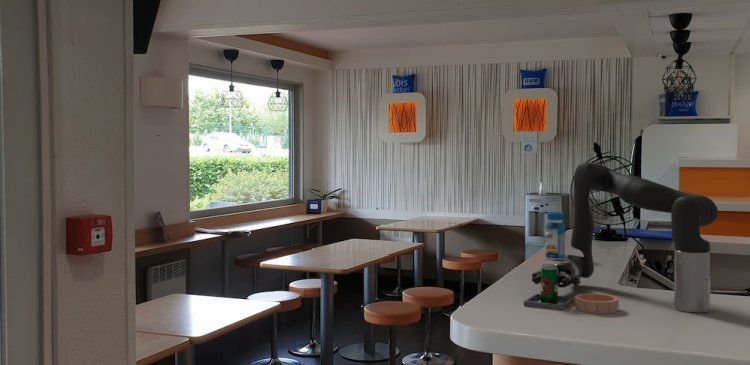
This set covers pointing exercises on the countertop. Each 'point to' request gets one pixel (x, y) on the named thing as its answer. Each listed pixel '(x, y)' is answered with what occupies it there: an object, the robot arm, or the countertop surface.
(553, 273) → the soda can
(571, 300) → the tray
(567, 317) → the countertop surface
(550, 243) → the beverage bottle
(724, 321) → the countertop surface
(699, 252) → the robot arm
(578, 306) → the bowl
